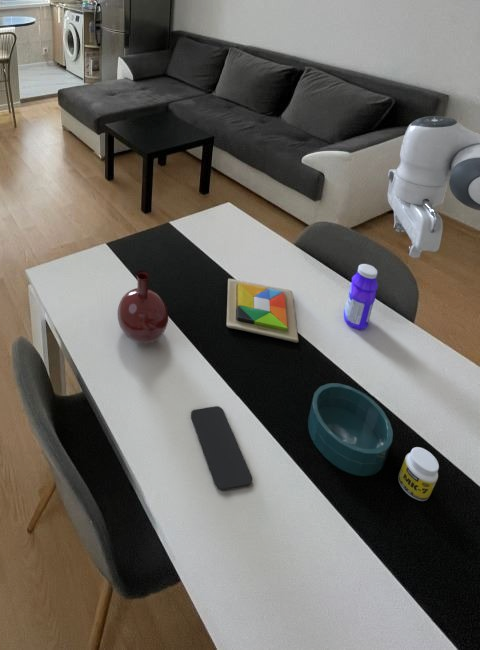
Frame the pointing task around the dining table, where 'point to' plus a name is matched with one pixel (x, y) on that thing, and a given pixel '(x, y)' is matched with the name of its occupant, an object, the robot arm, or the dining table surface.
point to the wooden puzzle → (261, 310)
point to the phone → (221, 449)
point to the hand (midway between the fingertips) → (405, 242)
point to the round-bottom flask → (142, 312)
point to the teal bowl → (349, 429)
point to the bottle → (361, 297)
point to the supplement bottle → (419, 473)
